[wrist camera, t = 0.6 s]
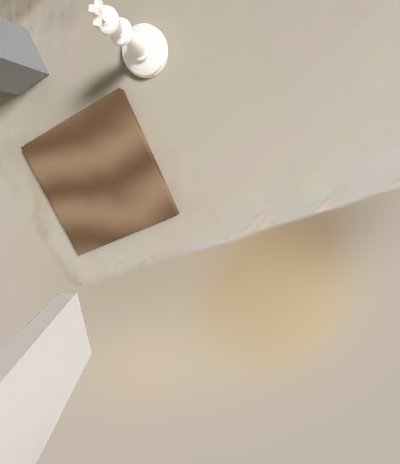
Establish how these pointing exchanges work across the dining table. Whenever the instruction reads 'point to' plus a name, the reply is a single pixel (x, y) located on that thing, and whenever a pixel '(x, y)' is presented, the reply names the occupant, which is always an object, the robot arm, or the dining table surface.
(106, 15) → the chess piece
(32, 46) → the slate block
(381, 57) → the dining table surface
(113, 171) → the walnut pad
